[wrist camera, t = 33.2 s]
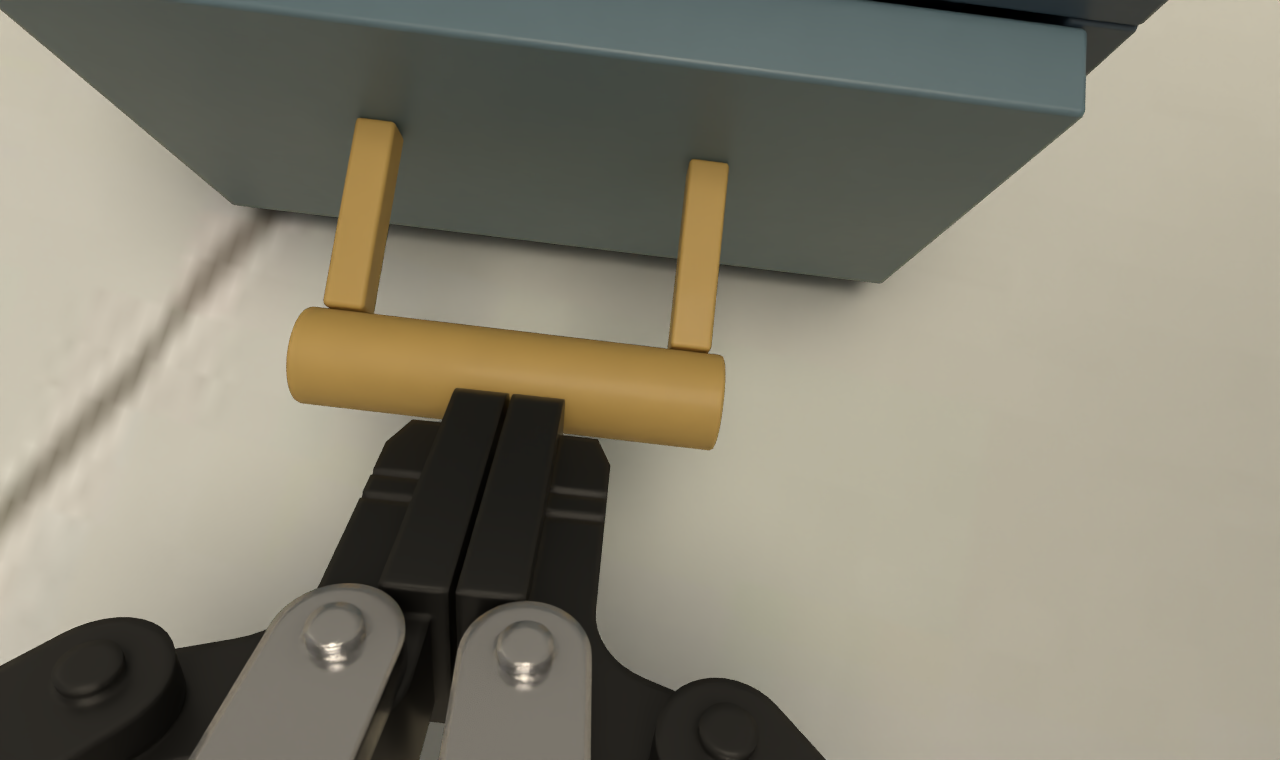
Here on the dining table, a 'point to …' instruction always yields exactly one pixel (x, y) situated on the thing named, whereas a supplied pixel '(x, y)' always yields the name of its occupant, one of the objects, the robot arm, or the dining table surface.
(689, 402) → the drawer
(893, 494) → the dining table surface
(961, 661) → the dining table surface
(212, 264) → the dining table surface
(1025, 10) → the cabinet
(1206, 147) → the dining table surface
